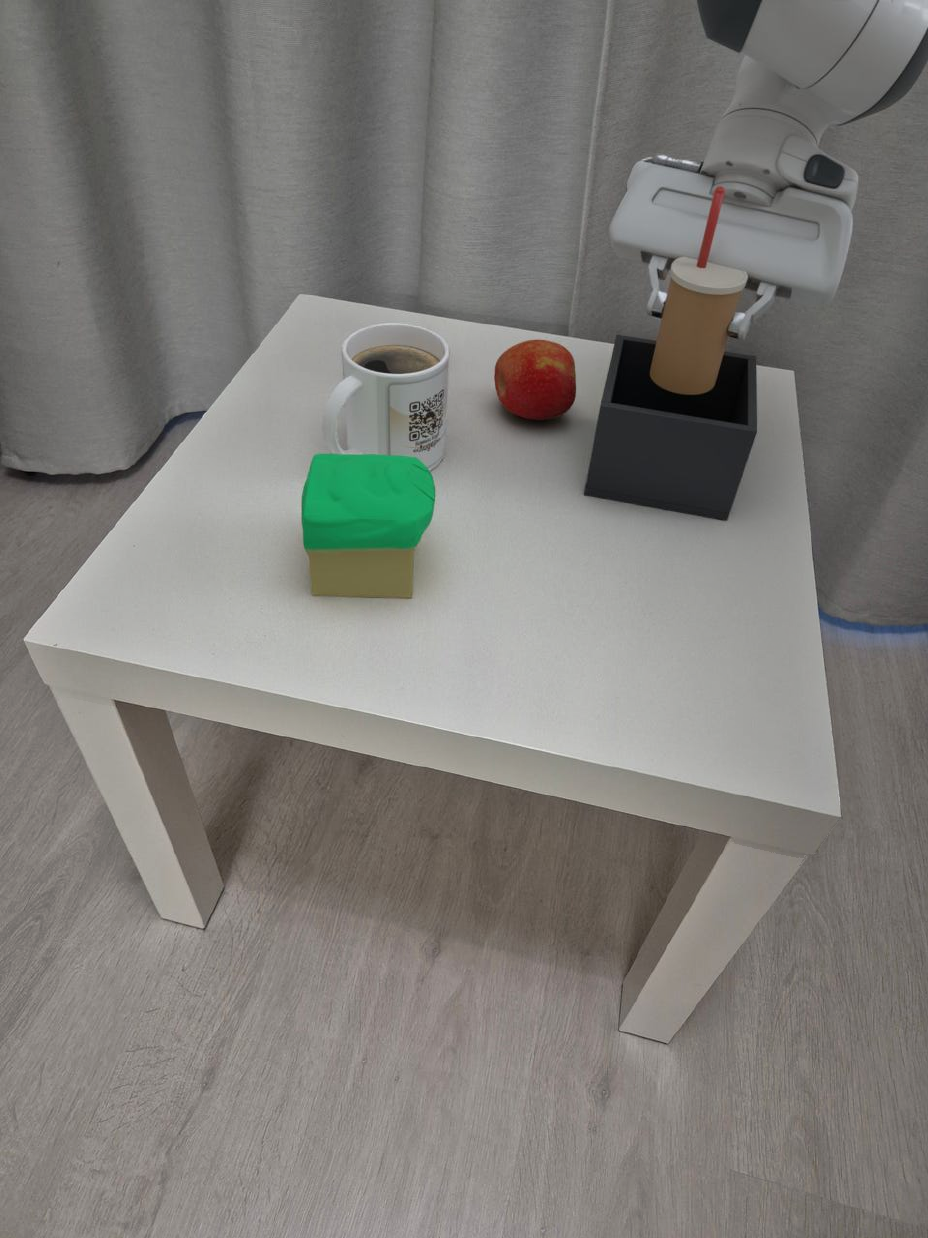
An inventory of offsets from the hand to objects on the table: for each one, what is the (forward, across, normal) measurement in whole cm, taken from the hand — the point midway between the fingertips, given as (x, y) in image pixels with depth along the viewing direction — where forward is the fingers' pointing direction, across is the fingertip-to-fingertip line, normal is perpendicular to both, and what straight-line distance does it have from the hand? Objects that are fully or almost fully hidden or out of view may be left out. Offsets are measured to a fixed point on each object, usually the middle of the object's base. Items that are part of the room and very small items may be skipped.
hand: (694, 325), depth 76 cm
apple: (+9, -15, +13) cm, 22 cm away
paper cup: (+3, 0, +4) cm, 5 cm away
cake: (+30, -17, -8) cm, 35 cm away
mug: (+19, -25, +3) cm, 31 cm away
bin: (+10, 0, +11) cm, 15 cm away
